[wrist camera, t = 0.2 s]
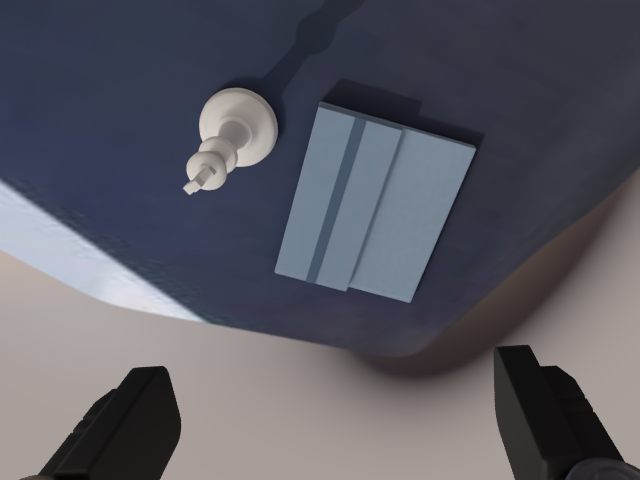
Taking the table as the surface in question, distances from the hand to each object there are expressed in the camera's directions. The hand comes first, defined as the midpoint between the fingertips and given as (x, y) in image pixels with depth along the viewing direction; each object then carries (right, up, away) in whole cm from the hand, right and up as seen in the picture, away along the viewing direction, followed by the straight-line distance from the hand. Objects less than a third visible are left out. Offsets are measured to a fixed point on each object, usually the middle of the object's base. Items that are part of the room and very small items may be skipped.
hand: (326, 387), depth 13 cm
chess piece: (-5, +11, +20) cm, 24 cm away
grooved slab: (+3, +6, +22) cm, 23 cm away
